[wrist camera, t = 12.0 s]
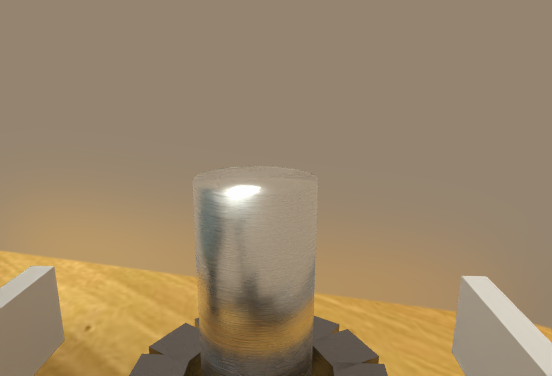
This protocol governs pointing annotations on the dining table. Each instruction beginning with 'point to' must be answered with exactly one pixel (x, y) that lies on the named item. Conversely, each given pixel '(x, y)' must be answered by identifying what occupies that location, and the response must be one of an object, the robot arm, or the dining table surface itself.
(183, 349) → the ring
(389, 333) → the dining table surface
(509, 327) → the robot arm
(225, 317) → the cylinder
